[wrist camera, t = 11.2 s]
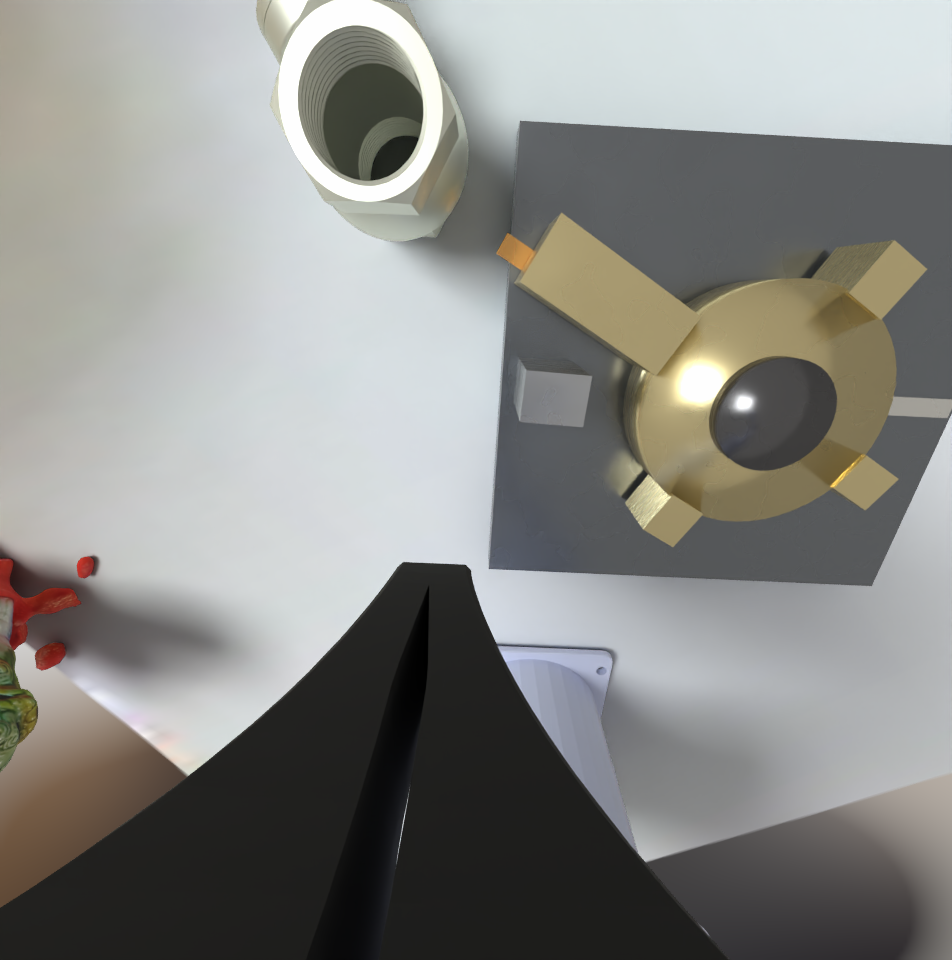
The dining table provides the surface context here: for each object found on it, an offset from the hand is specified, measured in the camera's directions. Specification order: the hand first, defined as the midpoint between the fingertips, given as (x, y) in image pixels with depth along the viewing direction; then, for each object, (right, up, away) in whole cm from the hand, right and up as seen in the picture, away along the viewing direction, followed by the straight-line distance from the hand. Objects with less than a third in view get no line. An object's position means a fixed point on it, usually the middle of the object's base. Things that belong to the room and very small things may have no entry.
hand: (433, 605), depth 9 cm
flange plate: (+10, +6, +9) cm, 15 cm away
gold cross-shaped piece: (+9, +6, +7) cm, 13 cm away
